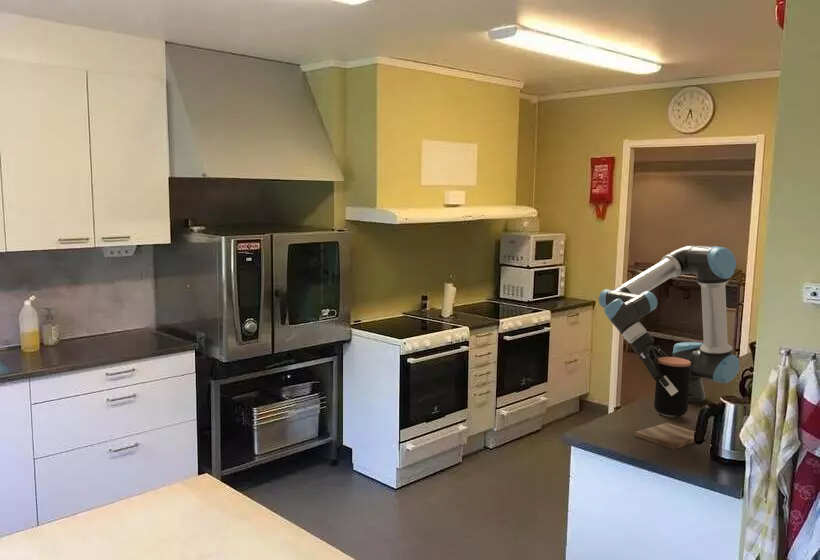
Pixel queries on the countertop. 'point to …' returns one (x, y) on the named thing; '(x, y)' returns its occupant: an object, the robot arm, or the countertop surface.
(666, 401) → the coffee jar
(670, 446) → the walnut board
